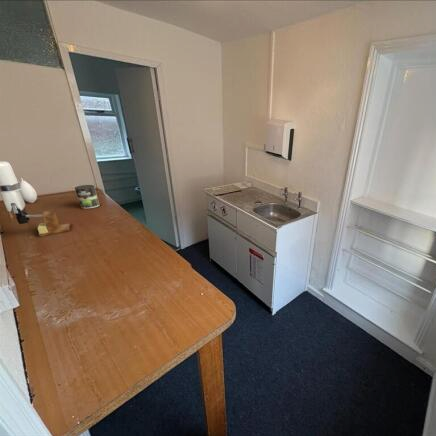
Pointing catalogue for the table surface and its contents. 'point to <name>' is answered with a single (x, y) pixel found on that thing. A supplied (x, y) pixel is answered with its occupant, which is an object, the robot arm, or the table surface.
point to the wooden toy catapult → (53, 223)
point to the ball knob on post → (34, 215)
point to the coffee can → (87, 196)
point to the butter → (42, 229)
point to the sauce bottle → (27, 192)
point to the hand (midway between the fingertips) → (24, 221)
